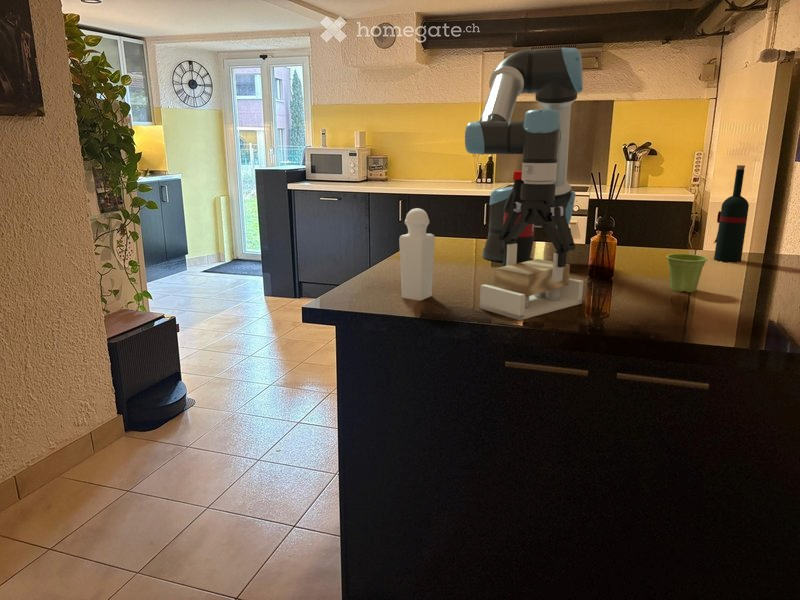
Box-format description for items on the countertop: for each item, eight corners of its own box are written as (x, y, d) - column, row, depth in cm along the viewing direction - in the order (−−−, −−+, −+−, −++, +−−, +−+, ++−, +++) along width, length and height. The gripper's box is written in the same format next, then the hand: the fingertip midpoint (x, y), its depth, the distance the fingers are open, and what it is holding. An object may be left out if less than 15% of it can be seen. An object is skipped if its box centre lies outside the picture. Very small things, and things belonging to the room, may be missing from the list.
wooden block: (527, 296, 128) (528, 274, 126) (495, 289, 134) (495, 268, 133) (568, 285, 138) (569, 264, 136) (536, 278, 144) (537, 258, 143)
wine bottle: (724, 256, 196) (737, 164, 188) (747, 262, 186) (761, 165, 178) (703, 257, 194) (715, 164, 186) (725, 263, 184) (739, 166, 177)
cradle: (541, 293, 148) (542, 272, 147) (581, 303, 139) (583, 281, 137) (479, 308, 135) (480, 285, 134) (519, 320, 126) (520, 295, 125)
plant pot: (686, 296, 145) (691, 261, 143) (655, 288, 153) (658, 255, 151) (711, 291, 150) (715, 258, 147) (679, 284, 158) (683, 252, 155)
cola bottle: (533, 279, 164) (539, 170, 156) (529, 286, 156) (536, 171, 148) (503, 277, 166) (507, 169, 158) (498, 284, 158) (502, 171, 151)
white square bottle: (421, 301, 141) (422, 210, 135) (398, 298, 144) (398, 208, 139) (434, 296, 146) (435, 207, 141) (412, 292, 150) (412, 206, 144)
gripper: (486, 180, 137) (483, 269, 143) (575, 186, 118) (567, 288, 123) (507, 179, 141) (504, 265, 147) (597, 184, 122) (589, 283, 128)
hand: (533, 275), depth 135 cm, fingers open, 13 cm apart
